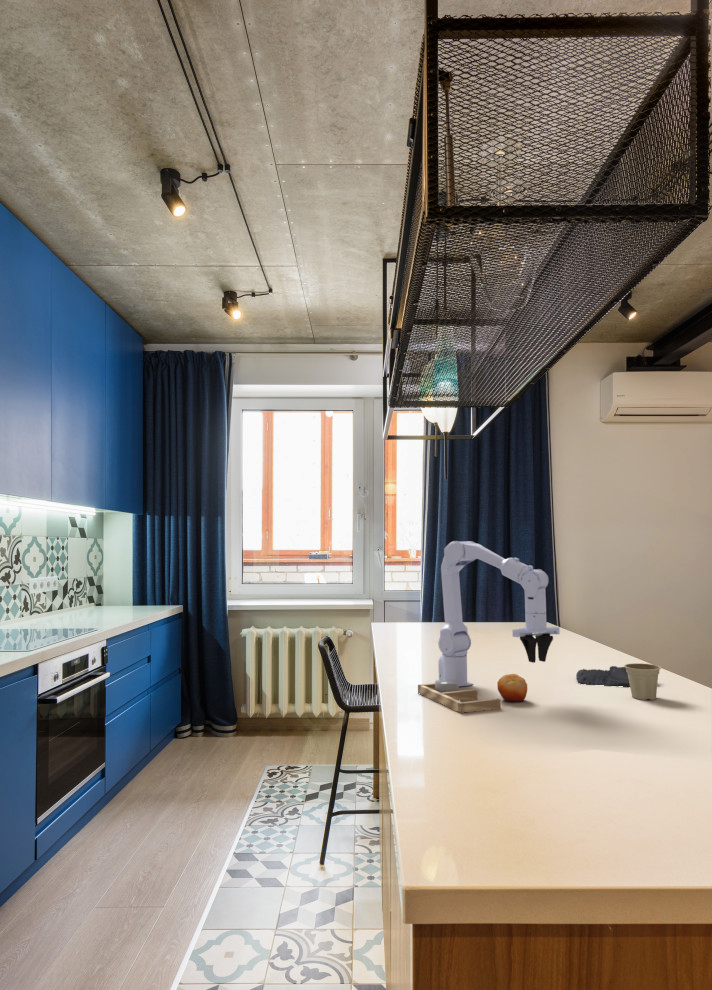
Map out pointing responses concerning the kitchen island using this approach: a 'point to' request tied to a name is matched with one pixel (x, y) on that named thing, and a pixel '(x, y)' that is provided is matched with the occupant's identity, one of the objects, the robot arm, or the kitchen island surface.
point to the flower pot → (643, 680)
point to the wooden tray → (453, 699)
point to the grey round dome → (446, 686)
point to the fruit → (512, 688)
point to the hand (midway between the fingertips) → (537, 661)
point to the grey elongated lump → (604, 677)
